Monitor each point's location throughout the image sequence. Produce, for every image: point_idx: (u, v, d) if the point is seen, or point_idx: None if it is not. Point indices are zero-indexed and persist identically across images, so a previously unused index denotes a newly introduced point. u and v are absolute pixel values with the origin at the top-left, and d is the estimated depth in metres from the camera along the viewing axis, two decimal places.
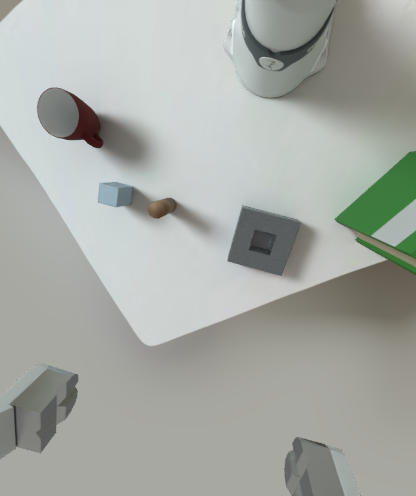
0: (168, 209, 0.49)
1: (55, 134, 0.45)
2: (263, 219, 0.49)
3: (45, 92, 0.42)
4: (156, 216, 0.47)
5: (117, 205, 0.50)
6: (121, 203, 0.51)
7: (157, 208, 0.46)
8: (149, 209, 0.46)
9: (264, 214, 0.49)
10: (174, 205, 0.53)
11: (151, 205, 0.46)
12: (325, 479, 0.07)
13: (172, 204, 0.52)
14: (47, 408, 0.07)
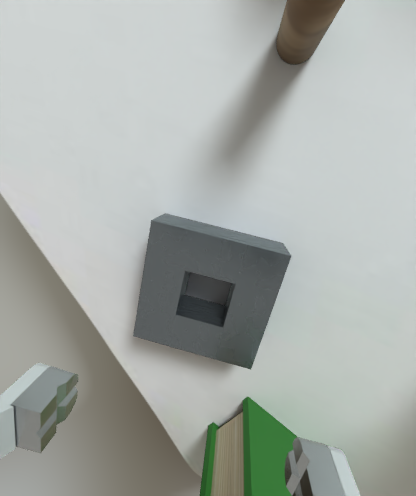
0: (315, 15, 0.13)
1: None
2: (260, 300, 0.21)
3: None
4: None
5: None
6: None
7: None
8: None
9: (271, 303, 0.21)
10: (300, 55, 0.18)
11: None
12: (325, 479, 0.07)
13: (310, 43, 0.16)
14: (47, 408, 0.07)
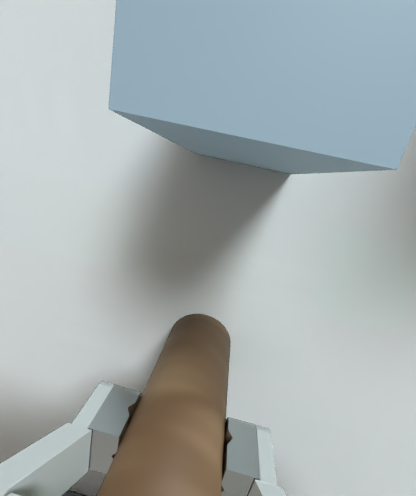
0: None
1: None
2: None
3: None
4: None
5: (144, 121, 0.04)
6: (178, 138, 0.05)
7: None
8: None
9: None
10: None
11: None
12: (243, 455, 0.07)
13: None
14: (122, 431, 0.07)
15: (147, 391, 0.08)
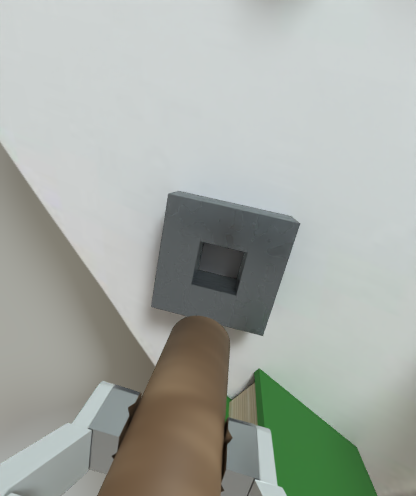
0: None
1: None
2: (271, 268, 0.22)
3: None
4: None
5: None
6: None
7: None
8: None
9: (281, 270, 0.22)
10: None
11: None
12: (243, 455, 0.07)
13: None
14: (123, 431, 0.07)
15: (147, 393, 0.08)
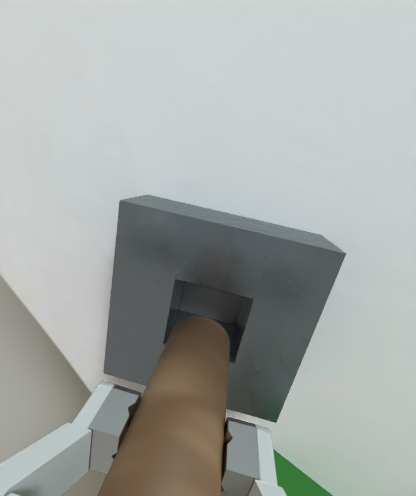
0: None
1: None
2: (293, 324, 0.14)
3: None
4: None
5: None
6: None
7: None
8: None
9: (310, 328, 0.13)
10: None
11: None
12: (243, 455, 0.07)
13: None
14: (123, 431, 0.07)
15: (147, 393, 0.08)
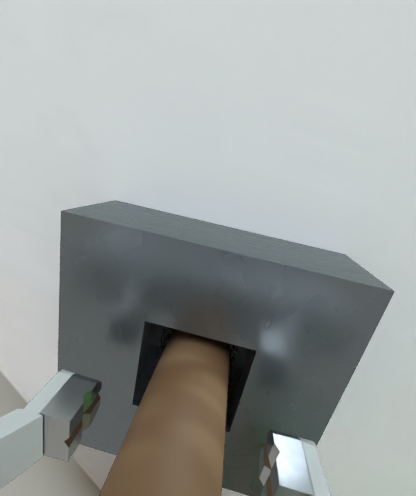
0: None
1: None
2: (311, 385, 0.10)
3: None
4: None
5: None
6: None
7: None
8: None
9: (336, 392, 0.09)
10: None
11: None
12: (293, 470, 0.07)
13: None
14: (75, 416, 0.07)
15: (161, 362, 0.10)
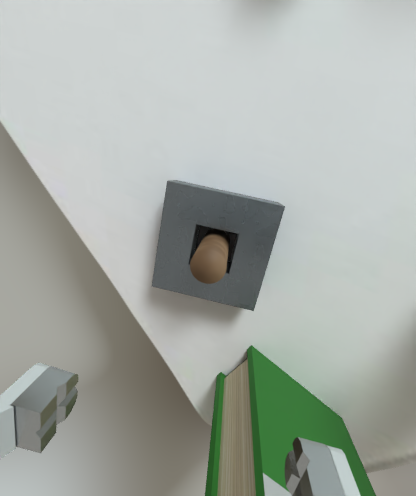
0: None
1: None
2: (260, 247, 0.25)
3: None
4: (194, 266, 0.21)
5: None
6: None
7: (212, 270, 0.21)
8: (208, 252, 0.21)
9: (269, 249, 0.25)
10: None
11: (218, 257, 0.21)
12: (325, 479, 0.07)
13: None
14: (47, 408, 0.07)
15: (202, 240, 0.25)
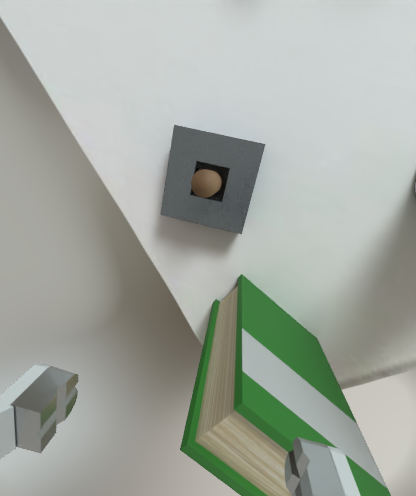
0: None
1: None
2: (246, 179, 0.32)
3: None
4: (194, 183, 0.28)
5: None
6: None
7: (207, 186, 0.28)
8: (205, 171, 0.27)
9: (253, 181, 0.32)
10: None
11: (212, 175, 0.28)
12: (325, 479, 0.07)
13: None
14: (47, 408, 0.07)
15: None
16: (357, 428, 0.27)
